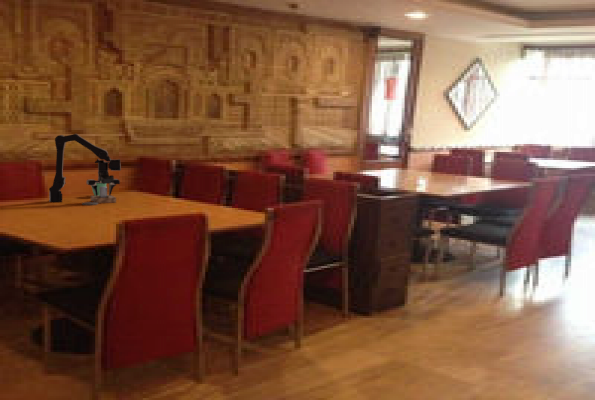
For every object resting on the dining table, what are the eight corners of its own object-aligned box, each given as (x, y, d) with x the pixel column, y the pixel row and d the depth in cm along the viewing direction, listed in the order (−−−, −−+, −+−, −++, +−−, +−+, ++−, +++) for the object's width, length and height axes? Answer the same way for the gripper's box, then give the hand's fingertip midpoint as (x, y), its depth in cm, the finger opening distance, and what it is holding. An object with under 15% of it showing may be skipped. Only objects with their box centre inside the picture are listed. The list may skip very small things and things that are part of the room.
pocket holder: (95, 203, 375) (95, 198, 375) (90, 200, 385) (90, 195, 385) (116, 202, 381) (116, 197, 381) (110, 199, 391) (110, 195, 391)
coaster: (84, 205, 365) (84, 204, 365) (80, 203, 373) (80, 202, 373) (99, 204, 370) (99, 203, 370) (95, 202, 377) (95, 201, 377)
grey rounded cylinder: (100, 202, 380) (100, 187, 379) (98, 201, 384) (98, 186, 383) (108, 202, 383) (107, 187, 381) (106, 201, 386) (105, 186, 385)
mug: (106, 197, 400) (106, 182, 399) (89, 197, 398) (89, 182, 397) (108, 194, 414) (107, 179, 413) (92, 194, 412) (92, 179, 411)
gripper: (90, 171, 369) (91, 198, 371) (122, 171, 379) (122, 197, 381) (86, 170, 378) (86, 196, 380) (117, 169, 388) (117, 194, 390)
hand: (103, 196), depth 383 cm, fingers open, 7 cm apart
